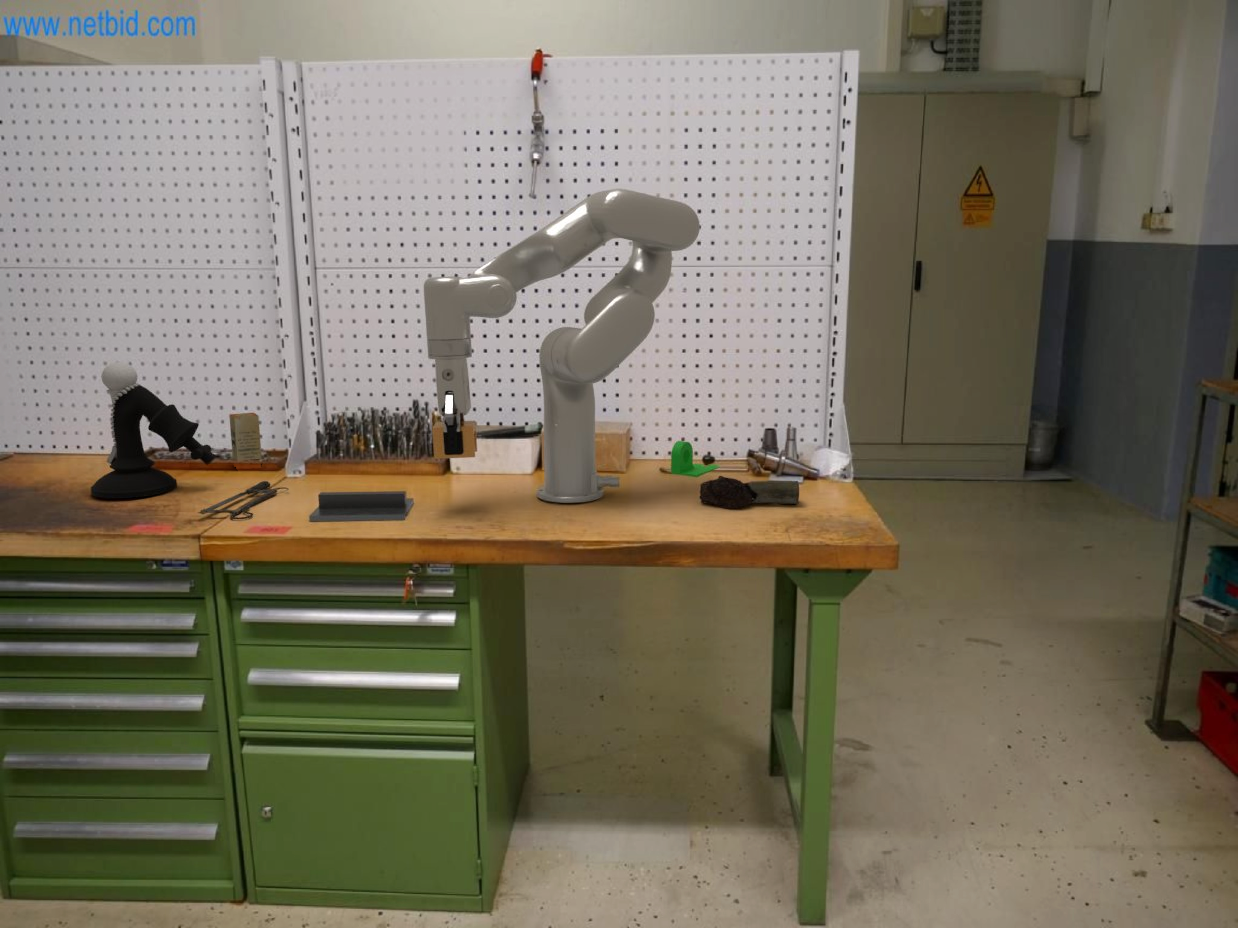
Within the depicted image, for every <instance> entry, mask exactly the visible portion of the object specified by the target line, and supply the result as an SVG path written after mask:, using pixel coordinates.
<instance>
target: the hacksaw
mask: <svg viewBox="0 0 1238 928" xmlns="http://www.w3.org/2000/svg"><path fill="white" fill-rule="evenodd" d="M282 489H283V490H282ZM285 489H286V490H285ZM278 490H280V491H279V492H281V493H282V492H284V490H285V492H286V491H289V488H288V487H281V486H280V487H276V488H275V487H274V488H271V483H270V482H269V481H268V480H267V481H266V480H263V481H260V482H259V483H257V484H256V485H253V486H251V487H249V488H247V489H245V490H244V492H239V493H237V494H235V495H233V496H231V497H228V498H226V499H224V500H223V501H220V502H217V503H216V504H214V505H212V506H209V507H207V508H203V509H201V510H200V511H198V512H197V513H198V514H201V515H205V514H223V513H224V514H230V516H229V518H230V519H232V520H248V519H250V518H252V517H253V516H254V513H253V512H250V511H248V510H249V509H251V506H253V505H255V504H256V503H259V502H260V501H262V500H265V499H267V498H268V497H270V496H272V495H274V494H277V492H278ZM281 490H282V491H281ZM251 494H261V495H258V496H256V497H255V498H253V499H251V500H249V501H247V502H246V503H244V504H243V505H240V506H239V507H238V508H236V509H218V508H220V507H222V506H224V505H226V504H228V503H231V502H233V501H235V500H237V499H239V498H242V497H243V496H245V495H251ZM241 512H242V513H244V514H247V516H240V517H238V516H237V515H239V514H241ZM235 516H236V517H235Z"/></svg>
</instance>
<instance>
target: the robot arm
mask: <svg viewBox="0 0 1238 928" xmlns="http://www.w3.org/2000/svg"><path fill="white" fill-rule="evenodd" d="M700 226H701V225H700V219H699V217H698V214H697V213H696V211H695V210H694V209H693V208H692V207H691V206H690V205H688V204H686V203H684V202H682V201H678V200H675V199H674V200H673V199H669V198H665V197H659V196H655V195H651V194H647V193H643V192H639V191H635V190H629V189H623V188H615V189H614V188H613V189H608V190H601V191H598V192H594V193H592V194H591V195H589V196H587V197H586V198H584V199H582V200H581V201H580V202H579V203H577V204H576V205H574V206H572V208H569V209H568V210H567V211H565V212H564V213H563V214H561V215H560V216H558V217H557V218H556V219H554V220H553V221H550V222H549V223H548V224H547V225H545V226H544V227H542V228H541V229H539V230H538V231H536V232H535V233H533V234H531V235H529V236H528V237H525V238H524V239H523V240H521V241H520V242H518V243H517V244H515V245H514V246H512V247H510V248H509V249H507V250H505V251H503V252H502V253H500V254H499V255H497V256H495V257H494V258H492V259H491V260H489V261H488V262H486V263H485V264H484V265H482V266H481V267H479V268H478V269H477V270H475V271H474V272H472V273H470V275H468V276H467V277H465V278H464V277H461V276H435V277H429V278H427V279H426V280H425V281H424V283H423V299H424V314H425V315H424V316H425V325H426V326H425V327H426V328H425V329H426V339H427V340H426V345H427V357H428V360H429V359H430V360H434V364H435V366H434V367H435V382H436V383H435V384H436V385H435V386H436V397H437V406H438V407H437V408H438V414H439V415H440V416H441V417H443V422H444V432H443V437H444V452H445V455H461V454H463V438H462V431H460V421H465V416H467V415H468V414H469V412H470V410H471V409H472V401H471V400H472V399H471V390H470V378H469V368H468V361H467V359H468V358H472V357H473V356H472V355H473V354H472V353H473V352H472V338H471V336H472V334H471V333H472V332H471V317H473V318H475V317H478V318H487V319H498V318H503V317H504V316H507V315H508V314H509V313H510V312H511V311H512V310H513V309H514V307H515V305H516V303H517V298H518V297H517V293H518V292H520V291H521V290H524V288H527V287H529V286H531V285H533V284H535V283H538V282H541V281H544V280H547V279H550V278H553V277H556V276H558V275H560V274H563V273H565V272H566V271H569V270H571V269H572V267H574V266H576V265H577V264H578V263H579V262H581V261H582V260H584V259H585V258H586V257H588V256H589V255H591V254H592V253H593V252H595V251H596V250H598V249H599V248H601V247H602V246H603V245H605V244H607V242H609V241H611V240H612V239H623V240H628V241H631V242H632V250H631V256H630V258H629V259H628V262H627V263H626V264H625V265H624V266H623V268H621V270H620V271H618V273H617V274H616V275H615V276H614V277H613V278H612V279H610V280H609V282H607V283H606V284H605V285H604V286H603V287H602V288H601V289H600V290H599V291H598V292H596V293H595V294H594V296H592V297H591V298H590V299H589V301H588V303H587V304H586V306H585V309H584V312H583V319H584V324H585V325H584V326H583V327H582V328H579V327H572V326H562V327H559V328H556V329H553V330H552V331H549V333H548V334H547V335H546V336H545V337H544V339H543V341H542V343H541V346H540V348H539V354H538V357H539V368H540V376H541V380H542V381H541V382H542V391H543V392H542V393H543V434H544V435H543V441H544V442H543V443H544V444H543V446H544V447H543V448H544V449H543V450H544V451H543V452H544V454H543V455H544V457H543V459H544V485H543V486H540V487H539V488H537V490H536V496H537V498H538V499H540V500H541V501H546V502H552V503H561V504H562V503H563V504H565V503H566V504H577V503H586V502H591V501H595V500H598V499H601V498H603V496H604V489H603V488H604V487H605V488H606V487H609V488H620V484H621V483H620V479H621V478H620V476H613V475H600V474H598V471H597V469H596V397H595V389H594V384H596V383H599V382H601V381H602V380H603V379H605V378H606V377H608V376H610V374H612V373H613V372H614V371H615V370H616V369H617V368H618V367H619V366H620V365H621V364H622V363H623V362H624V361H625V360H626V359H627V358H628V357H629V356H630V355H631V354H632V353H633V352H634V351H635V350H636V349H637V348H638V347H639V346H640V345H641V344H642V343H643V342H644V340H646V339H647V337H648V335H649V334H650V332H651V330H652V329H653V325H654V324H655V318H656V317H655V315H656V313H655V307H654V302H655V301H656V300H657V299H658V297H660V295H661V294H662V293H663V292H664V290H665V289H666V287H668V284H669V281H670V278H671V274H672V263H673V261H672V260H673V254H672V253H673V252H678V251H683V250H685V249H687V248H689V247H691V246H692V245H693V244H694V243H695V241H696V240H697V238H698V236H699V232H700V228H701V227H700Z"/></svg>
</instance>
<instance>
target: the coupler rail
mask: <svg viewBox="0 0 1238 928" xmlns="http://www.w3.org/2000/svg"><path fill="white" fill-rule="evenodd" d="M317 496H318V506H317V507H316V509H314V511H312V512H311V513H310V514H309V516H308V517H309V518H308V519H309V522H352V521H354V522H355V521H356V522H358V521H359V522H361V521H362V522H363V521H364V522H365V521H369V522H370V521H404V520H405V519H406V518H407V516H408V514H409V513H410V511H411V509H412V507H413V506H414V504H415V503H414V502H415V501H414V500H415V499H414V498H412V497H410V498H409V497H407V491H406V490H405V491H402V490H401V491H400V490H399V491H398V490H397V491H396V490H395V491H392V490H391V491H387V490H385V491H384V490H383V491H324V492H323V491H321V492H320V493H319V494H318V495H317Z"/></svg>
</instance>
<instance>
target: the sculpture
mask: <svg viewBox="0 0 1238 928" xmlns="http://www.w3.org/2000/svg"><path fill="white" fill-rule="evenodd" d="M101 382H102V384H103V385H104V386H105V387H106V388H107V390H106V392H107V393H108V394H109V396H110V399H111V405H110V406H111V409H110V412H111V413H110V416H111V417H109V418H110V425H111V426H110V430H111V432H110V433H111V438H112V439H113V440H112V442H113V446H112V448H111V452H110V453H109V455H108V457H107V458H106V463H107V464H110V465H109V468H110V469H111V470H112V471H109V472H108V473H106V474H104V475H103V476H101V477H100V478H98V479H97V480H96V481H95V482H94V484H93V485H91V487H90V494H91V495H92V496H93V497H96V498H101V499H133V498H141V497H150V496H156V495H158V494H159V495H160V494H163V493H167V492H170V491H173V490H175V489H176V488H177V487H178V482H177V481H178V480H177V479H176V478H175V477H174V476H172V475H171V474H169V473H168V472H166V471H164V470H161V469H160V468H159V469H158V468H156V467H153V466H154V465H155V464H156V463H155V461H153V460H152V459H150V458H149V457H148V456H147V455H146V452H145V449H144V446H143V440H142V434H141V420H142V418H143V416H144V417H145V418H146V420H147V421H148V422H149V424H148V431H150V432H152V433H154V434H156V435H158V436H160V437H161V438H162V439H163V440H164V442H165V443H166V445H167V448H168V452H169V453H174V452H177V450H179V449H181V448H183V447H184V448H185V449H187V450H188V451H189V452H190V458H191V459H192V460H196V461H197V460H201V461H202V462H203V463H204V464H205V465H206V466H208V465H210V464H211V463H212V462H213V461H214V460H215V459H216V457H217V455H216V454H215V453H213V452H212V447H211V446H210V444H204V445H203V444H202V443H201V442H199V441H198V440H197V439H195V437H194V435H195V434H196V432H197V430H198V428H199V425H200V424H199V422H193V421H190V420H189V419H187V418H185V417H183V415H181V413H180V412H179V410H178V409H177V407H176V405H175V404H169V405H167V404H166V403H165V402H164V401H163V400H161V399H160V398H159V397H158V396H157V395H156V394H155V393H153V392H152V391H150V390H149V389H148V388H146V387H144V386H143V385H141V384H140V383H137V382H138V373H137V371H136V369H135V368H134V367H133V366H132V365H131V364H128V363H126V362H122V361H117V362H116V361H115V362H113V363H109V364H108V365H106V366H105V368H103V370H102V372H101Z"/></svg>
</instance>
